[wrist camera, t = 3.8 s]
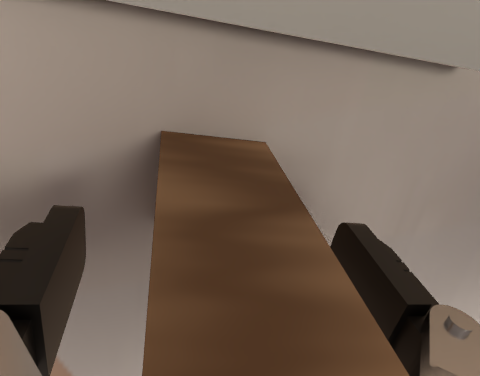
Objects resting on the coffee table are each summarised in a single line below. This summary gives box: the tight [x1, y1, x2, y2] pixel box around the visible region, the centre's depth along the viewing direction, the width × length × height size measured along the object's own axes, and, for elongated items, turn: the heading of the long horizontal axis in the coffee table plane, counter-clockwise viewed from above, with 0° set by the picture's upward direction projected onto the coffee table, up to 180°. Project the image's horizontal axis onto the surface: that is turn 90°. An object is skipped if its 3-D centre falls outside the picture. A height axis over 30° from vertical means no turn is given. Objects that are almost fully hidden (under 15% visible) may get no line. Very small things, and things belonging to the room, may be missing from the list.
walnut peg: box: [142, 131, 409, 376], centre depth 10 cm, size 4×4×10 cm
